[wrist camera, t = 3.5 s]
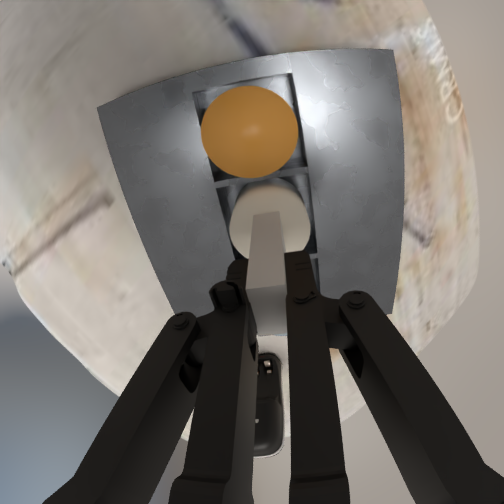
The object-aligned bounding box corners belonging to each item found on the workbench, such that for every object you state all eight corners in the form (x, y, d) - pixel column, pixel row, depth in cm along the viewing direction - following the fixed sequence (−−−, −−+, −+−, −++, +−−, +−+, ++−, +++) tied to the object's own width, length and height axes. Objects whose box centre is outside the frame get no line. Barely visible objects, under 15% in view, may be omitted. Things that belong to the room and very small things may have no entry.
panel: (118, 103, 16) (96, 107, 14) (375, 54, 14) (392, 49, 11) (193, 315, 27) (187, 338, 24) (382, 291, 24) (391, 313, 22)
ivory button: (227, 183, 18) (220, 200, 16) (299, 171, 18) (305, 187, 15) (242, 245, 21) (239, 269, 18) (308, 235, 20) (313, 259, 18)
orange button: (203, 96, 15) (191, 98, 12) (285, 80, 14) (289, 78, 11) (221, 170, 17) (213, 185, 15) (298, 156, 16) (304, 170, 14)
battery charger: (276, 346, 29) (277, 447, 19) (284, 365, 31) (286, 457, 21) (215, 355, 30) (200, 449, 20) (227, 373, 32) (217, 460, 22)
